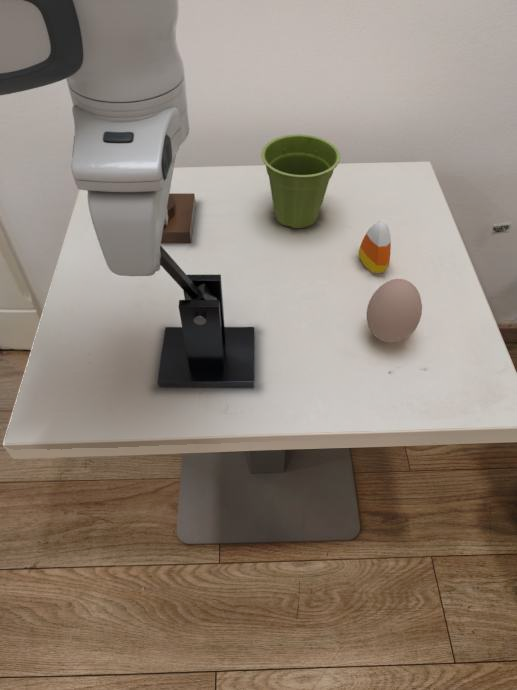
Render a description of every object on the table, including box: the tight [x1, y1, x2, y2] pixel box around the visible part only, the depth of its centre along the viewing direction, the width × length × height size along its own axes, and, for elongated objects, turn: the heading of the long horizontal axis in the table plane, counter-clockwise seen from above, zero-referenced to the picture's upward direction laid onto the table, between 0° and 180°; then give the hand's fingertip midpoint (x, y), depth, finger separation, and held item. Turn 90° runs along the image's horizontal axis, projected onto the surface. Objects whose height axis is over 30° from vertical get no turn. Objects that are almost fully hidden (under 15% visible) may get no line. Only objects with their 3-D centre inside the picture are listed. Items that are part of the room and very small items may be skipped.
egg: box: [366, 278, 423, 343], centre depth 66 cm, size 7×7×10 cm
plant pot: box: [261, 133, 341, 229], centre depth 82 cm, size 12×12×11 cm
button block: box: [161, 192, 197, 244], centre depth 83 cm, size 12×10×4 cm
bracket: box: [157, 274, 255, 388], centre depth 63 cm, size 12×9×13 cm
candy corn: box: [358, 220, 392, 274], centre depth 76 cm, size 6×3×8 cm, turn 25°
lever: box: [160, 245, 217, 300], centre depth 56 cm, size 12×5×2 cm
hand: (155, 245), depth 52 cm, fingers closed on lever, 5 cm apart
